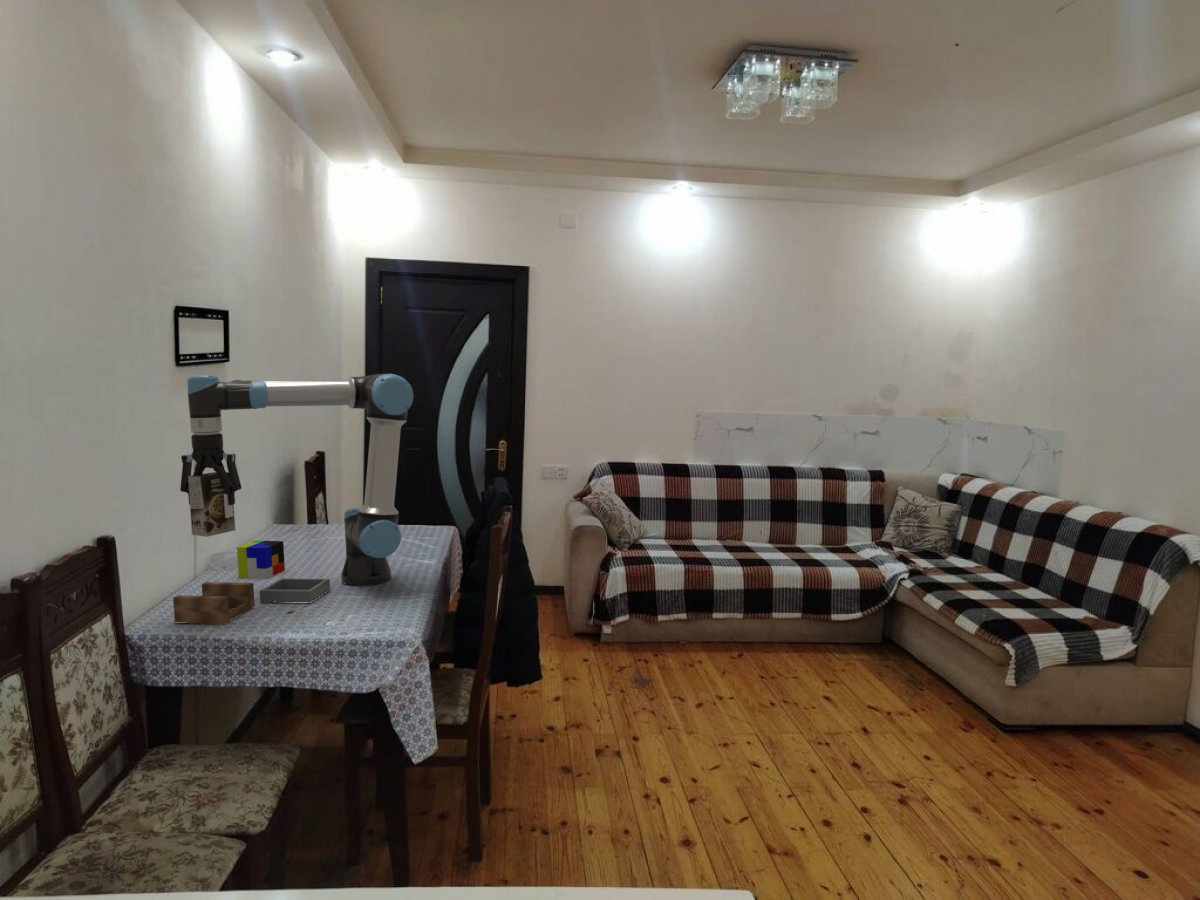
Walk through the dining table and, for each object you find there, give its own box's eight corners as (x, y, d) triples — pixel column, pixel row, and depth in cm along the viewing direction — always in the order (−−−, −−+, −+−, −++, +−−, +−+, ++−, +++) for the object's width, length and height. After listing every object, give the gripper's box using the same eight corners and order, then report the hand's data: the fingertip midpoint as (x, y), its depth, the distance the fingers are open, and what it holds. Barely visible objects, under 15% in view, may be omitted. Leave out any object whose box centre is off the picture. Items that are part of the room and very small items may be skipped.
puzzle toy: (266, 579, 257) (264, 548, 256) (238, 577, 259) (236, 547, 258) (285, 571, 267) (283, 541, 266) (257, 569, 269) (256, 540, 268)
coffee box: (207, 537, 213) (203, 476, 212) (191, 535, 216) (186, 475, 214) (236, 530, 222) (232, 471, 220) (220, 528, 224) (216, 470, 223)
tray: (330, 590, 243) (329, 578, 243) (310, 603, 230) (310, 591, 230) (282, 589, 244) (281, 578, 244) (260, 602, 232) (259, 590, 231)
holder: (254, 607, 228) (253, 582, 227) (225, 624, 213) (223, 598, 212) (207, 606, 229) (205, 582, 228) (174, 623, 214) (173, 597, 213)
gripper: (160, 435, 213) (167, 520, 215) (238, 434, 212) (244, 519, 214) (176, 432, 220) (182, 514, 223) (252, 431, 219) (257, 514, 222)
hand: (213, 517), depth 218 cm, fingers closed on coffee box, 8 cm apart
